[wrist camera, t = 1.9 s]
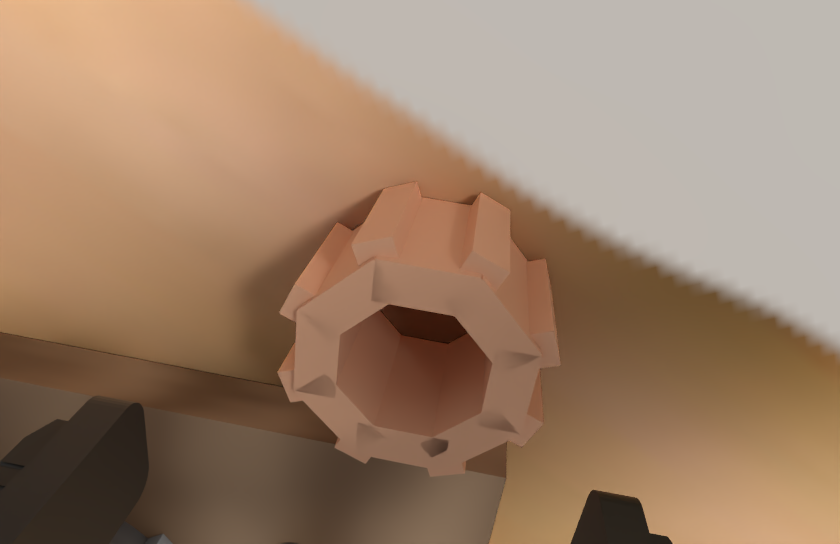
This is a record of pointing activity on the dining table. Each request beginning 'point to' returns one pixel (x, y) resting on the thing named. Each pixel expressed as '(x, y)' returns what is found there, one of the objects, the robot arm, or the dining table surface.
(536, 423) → the loose gear
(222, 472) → the gear board
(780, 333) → the dining table surface
